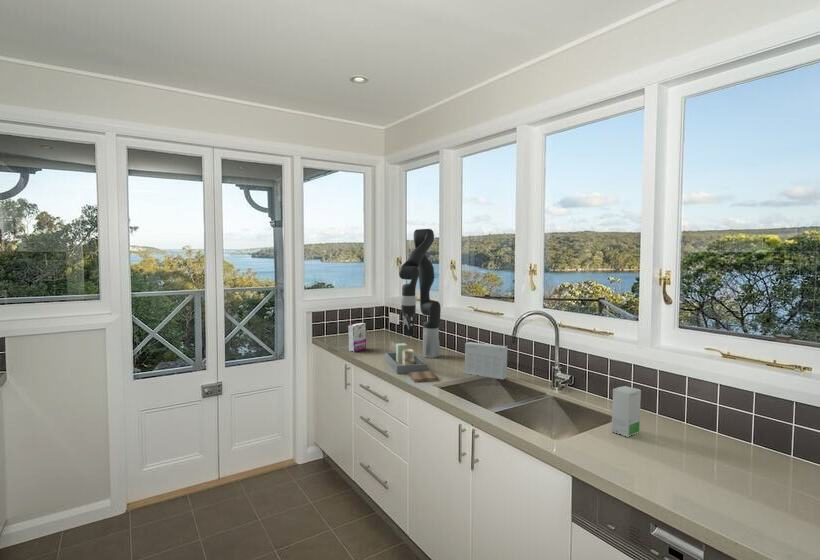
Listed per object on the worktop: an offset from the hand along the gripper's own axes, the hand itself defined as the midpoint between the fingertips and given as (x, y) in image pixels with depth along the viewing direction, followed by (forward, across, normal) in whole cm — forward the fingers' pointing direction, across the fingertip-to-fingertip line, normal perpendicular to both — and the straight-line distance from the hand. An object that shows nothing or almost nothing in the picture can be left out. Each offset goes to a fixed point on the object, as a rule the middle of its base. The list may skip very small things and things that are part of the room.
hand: (408, 334), depth 241 cm
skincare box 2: (+19, -98, -54) cm, 114 cm away
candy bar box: (+18, +49, +20) cm, 56 cm away
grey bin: (+18, +7, 0) cm, 20 cm away
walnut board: (+18, -18, -3) cm, 26 cm away
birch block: (+18, 0, 0) cm, 18 cm away
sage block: (+18, +15, 0) cm, 24 cm away
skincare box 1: (+18, -21, -35) cm, 45 cm away
